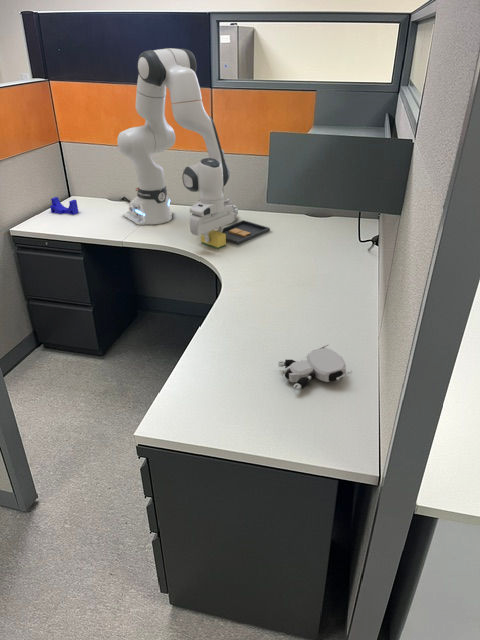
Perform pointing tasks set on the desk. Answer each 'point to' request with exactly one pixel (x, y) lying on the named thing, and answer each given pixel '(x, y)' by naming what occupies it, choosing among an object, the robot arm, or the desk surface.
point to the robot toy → (315, 367)
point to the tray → (244, 226)
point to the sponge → (215, 239)
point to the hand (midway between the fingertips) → (213, 239)
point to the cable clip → (60, 209)
